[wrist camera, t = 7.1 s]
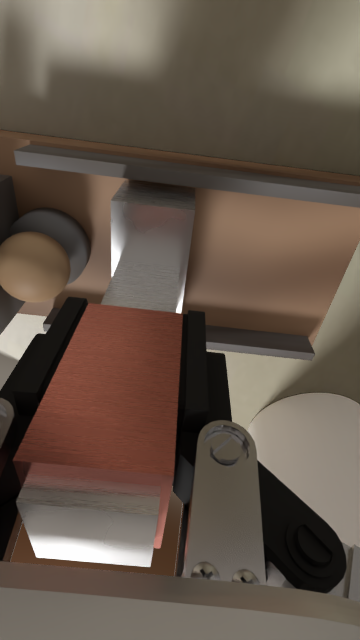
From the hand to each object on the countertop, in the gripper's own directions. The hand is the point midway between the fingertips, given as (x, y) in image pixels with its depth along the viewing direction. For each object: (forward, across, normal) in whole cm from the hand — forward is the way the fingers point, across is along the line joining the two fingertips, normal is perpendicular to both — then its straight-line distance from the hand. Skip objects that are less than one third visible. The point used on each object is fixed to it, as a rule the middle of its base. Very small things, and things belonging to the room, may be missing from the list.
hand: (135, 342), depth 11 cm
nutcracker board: (+8, 0, 0) cm, 8 cm away
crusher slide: (+6, 0, 0) cm, 6 cm away
